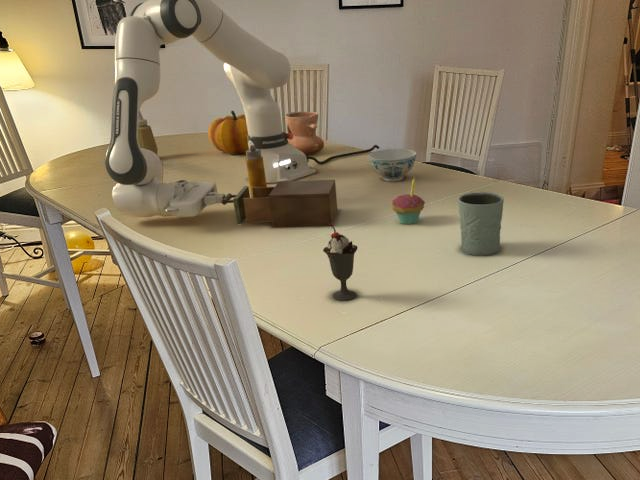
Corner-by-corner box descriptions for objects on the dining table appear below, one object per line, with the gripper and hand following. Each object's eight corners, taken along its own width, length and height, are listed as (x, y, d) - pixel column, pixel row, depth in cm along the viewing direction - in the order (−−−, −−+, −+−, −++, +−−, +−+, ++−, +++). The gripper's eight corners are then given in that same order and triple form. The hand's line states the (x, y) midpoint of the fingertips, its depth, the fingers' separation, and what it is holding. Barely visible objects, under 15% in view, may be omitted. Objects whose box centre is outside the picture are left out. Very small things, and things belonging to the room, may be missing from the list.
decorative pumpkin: (202, 156, 248) (194, 115, 241) (232, 144, 266) (226, 105, 258) (247, 158, 242) (241, 116, 234) (276, 145, 259) (271, 106, 252)
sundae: (327, 290, 134) (320, 219, 126) (359, 288, 134) (355, 217, 127) (327, 304, 128) (320, 231, 121) (361, 301, 128) (356, 228, 121)
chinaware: (362, 183, 205) (361, 158, 201) (380, 171, 217) (379, 147, 213) (407, 186, 200) (406, 160, 196) (423, 173, 211) (422, 149, 208)
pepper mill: (263, 203, 190) (255, 142, 182) (272, 206, 187) (264, 144, 178) (249, 207, 188) (240, 145, 179) (258, 210, 184) (249, 147, 176)
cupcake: (428, 217, 172) (427, 172, 166) (419, 228, 165) (418, 180, 159) (397, 215, 175) (396, 170, 169) (387, 225, 168) (385, 179, 162)
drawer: (221, 224, 172) (217, 199, 168) (233, 210, 182) (229, 186, 179) (291, 223, 170) (287, 197, 167) (298, 208, 181) (296, 184, 178)
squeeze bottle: (153, 162, 244) (142, 111, 235) (133, 162, 246) (122, 112, 236) (163, 157, 251) (153, 107, 242) (144, 157, 252) (133, 108, 243)
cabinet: (272, 227, 171) (268, 195, 166) (282, 211, 182) (278, 181, 178) (331, 226, 170) (328, 193, 165) (337, 210, 181) (335, 179, 177)
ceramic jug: (334, 153, 244) (330, 113, 236) (301, 160, 236) (297, 119, 229) (307, 146, 256) (303, 108, 249) (276, 153, 248) (271, 113, 241)
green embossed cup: (490, 259, 144) (492, 206, 138) (449, 252, 149) (450, 201, 143) (508, 245, 152) (511, 194, 146) (469, 239, 157) (470, 189, 151)
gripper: (157, 199, 165) (211, 197, 164) (183, 178, 183) (231, 176, 182) (163, 223, 168) (215, 221, 167) (188, 200, 186) (235, 198, 185)
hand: (224, 198), depth 174 cm, fingers closed, pressing on drawer
